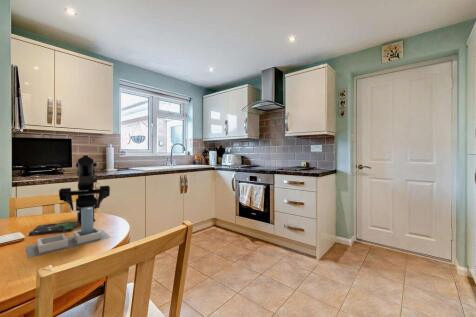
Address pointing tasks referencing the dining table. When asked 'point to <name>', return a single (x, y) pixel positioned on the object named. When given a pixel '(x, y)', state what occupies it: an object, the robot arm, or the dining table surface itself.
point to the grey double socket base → (64, 242)
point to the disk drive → (54, 228)
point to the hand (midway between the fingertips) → (85, 208)
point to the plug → (87, 220)
